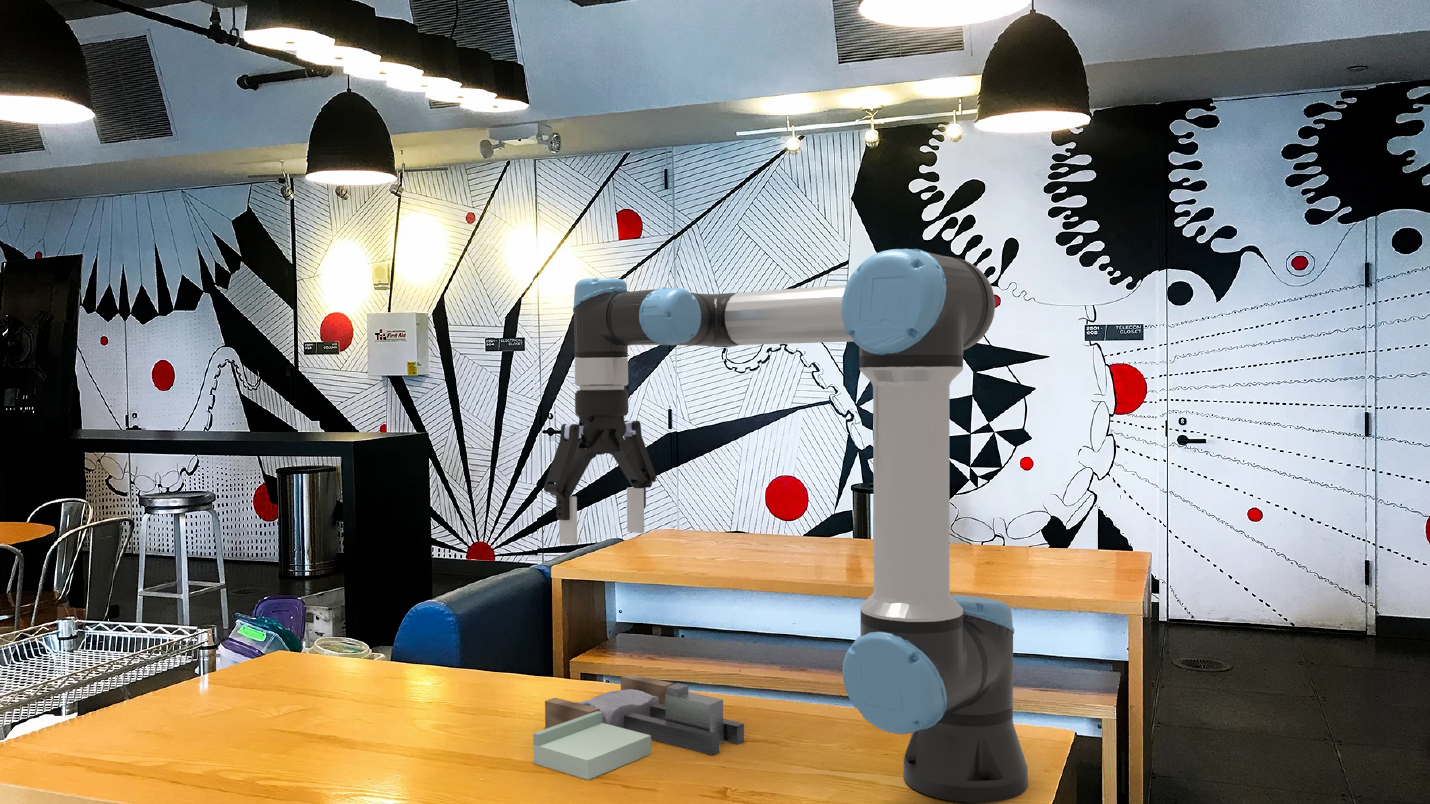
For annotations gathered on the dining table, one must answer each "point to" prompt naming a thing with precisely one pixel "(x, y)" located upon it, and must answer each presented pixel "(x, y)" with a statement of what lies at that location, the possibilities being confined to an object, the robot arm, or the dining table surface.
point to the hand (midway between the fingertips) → (603, 538)
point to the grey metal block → (694, 710)
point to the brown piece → (568, 710)
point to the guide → (682, 731)
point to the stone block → (621, 705)
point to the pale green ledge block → (588, 746)
